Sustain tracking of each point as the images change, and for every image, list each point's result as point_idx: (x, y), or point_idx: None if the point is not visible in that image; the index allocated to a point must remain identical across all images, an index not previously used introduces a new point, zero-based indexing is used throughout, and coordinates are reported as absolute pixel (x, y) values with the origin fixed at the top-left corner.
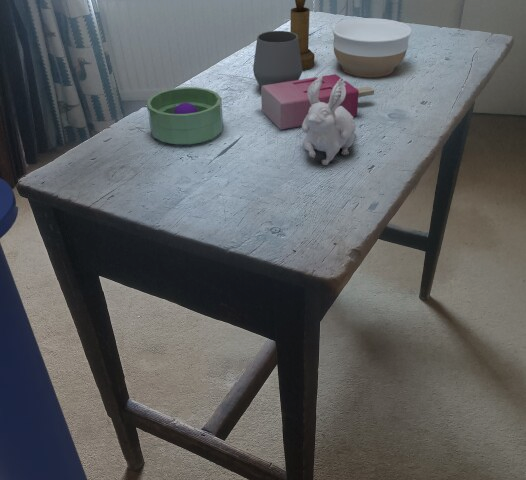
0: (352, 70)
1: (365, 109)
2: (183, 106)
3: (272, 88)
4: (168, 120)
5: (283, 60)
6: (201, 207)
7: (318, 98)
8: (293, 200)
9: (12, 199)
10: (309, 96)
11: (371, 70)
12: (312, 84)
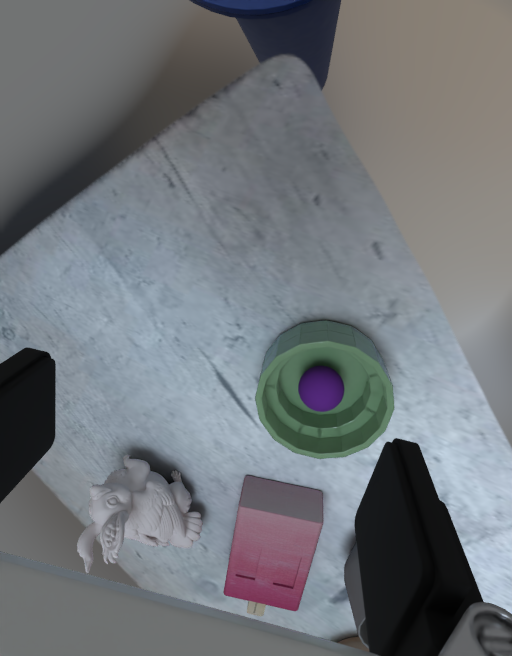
0: (356, 643)
1: None
2: (315, 394)
3: (299, 528)
4: (280, 350)
5: (353, 591)
6: (88, 285)
7: (231, 549)
8: (63, 385)
9: (212, 1)
10: (118, 522)
11: None
12: (118, 541)
